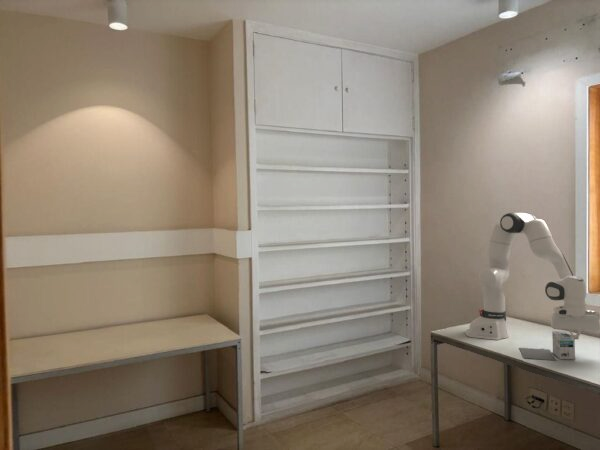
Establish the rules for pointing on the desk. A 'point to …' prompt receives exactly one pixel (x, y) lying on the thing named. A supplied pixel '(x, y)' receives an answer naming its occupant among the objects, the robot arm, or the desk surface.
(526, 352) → the rubber mat
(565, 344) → the light bulb box
